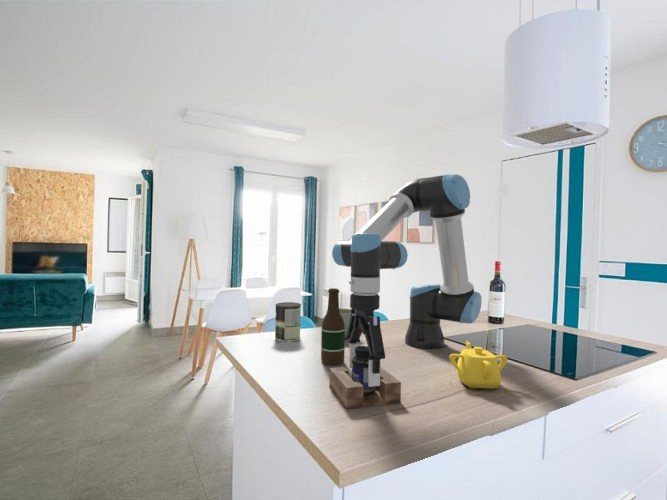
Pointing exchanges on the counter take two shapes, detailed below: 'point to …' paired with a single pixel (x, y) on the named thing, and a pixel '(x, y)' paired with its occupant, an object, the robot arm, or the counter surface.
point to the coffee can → (287, 321)
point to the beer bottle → (333, 332)
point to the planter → (345, 318)
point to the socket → (353, 391)
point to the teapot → (478, 367)
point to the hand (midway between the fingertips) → (363, 376)
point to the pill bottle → (362, 368)
